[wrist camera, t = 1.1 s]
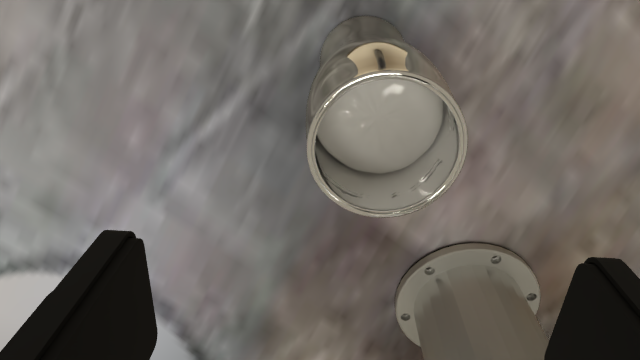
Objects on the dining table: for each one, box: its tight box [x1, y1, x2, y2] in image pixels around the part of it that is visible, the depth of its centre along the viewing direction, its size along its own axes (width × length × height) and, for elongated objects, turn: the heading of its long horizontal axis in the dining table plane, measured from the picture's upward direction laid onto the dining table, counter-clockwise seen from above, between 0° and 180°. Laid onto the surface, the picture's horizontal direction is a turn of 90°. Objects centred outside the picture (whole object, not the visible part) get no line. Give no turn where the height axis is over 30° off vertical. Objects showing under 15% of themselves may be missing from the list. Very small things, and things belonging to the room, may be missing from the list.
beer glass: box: [306, 16, 468, 218], centre depth 25 cm, size 7×7×15 cm
